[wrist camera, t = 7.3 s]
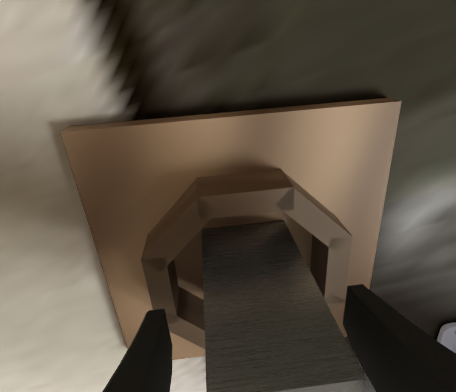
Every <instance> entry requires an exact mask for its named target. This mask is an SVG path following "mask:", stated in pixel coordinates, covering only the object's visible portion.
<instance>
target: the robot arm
mask: <svg viewBox="0 0 456 392" xmlns="http://www.w3.org/2000/svg"><path fill="white" fill-rule="evenodd" d="M343 326H344V328H345V331H346V333H347V336H348V338H349V341H350V343H351V345H352V348H353V350H354V352H355V354H356V356H357V357H358V359H359V361H360V363H361V365H362V367H363V369H364V370H365V372H366V374H367V376H368V378H369V379H370V381H371V383H372V385H373V387H374V389H375V390H376V392H456V322H454V323H448V324H445V325H443V326H442V327H441V329H440V332H439V335H438V338H437V341H436V340H435V339H434V338H432V337H431V336H429V335H428V334H426V333H425V332H424V331H422V330H421V329H419V328H418V327H417V326H415V325H414V324H413V323H411V322H410V321H409V320H407V319H406V318H405V317H403V316H402V315H401V314H399V313H398V312H397V311H396V310H394V309H393V308H392V307H391V306H389V305H388V304H387V303H385V302H384V301H383V300H382V299H380V298H379V297H378V296H377V295H376V294H374V293H373V292H372V291H371V290H369V289H368V288H367V287H365V286H364V285H363V284H359V285H351V286H347V293H346V301H345V308H344V316H343ZM172 346H173V345H172V341H171V336H170V331H169V327H168V322H167V318H166V313H165V309H157V310H149V311H148V312H147V313H146V314H145V317H144V319H143V321H142V323H141V325H140V327H139V329H138V331H137V333H136V335H135V337H134V339H133V341H132V343H131V345H130V347H129V348H128V350H127V352H126V354H125V356H124V357H123V359H122V361H121V363H120V364H119V366H118V368H117V369H116V371H115V373H114V374H113V376H112V377H111V379H110V381H109V382H108V384H107V385H106V387H105V389H104V390H103V392H170V384H171V376H172Z"/></svg>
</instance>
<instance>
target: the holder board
mask: <svg viewBox="0 0 456 392" xmlns="http://www.w3.org/2000/svg"><path fill="white" fill-rule="evenodd" d="M400 106H401V101H399V100H395V99H391V98H380V99H369V100H358V101H347V102H335V103H324V104H313V105H302V106H291V107H280V108H269V109H258V110H247V111H236V112H225V113H213V114H202V115H191V116H180V117H169V118H158V119H147V120H136V121H125V122H114V123H103V124H91V125H80V126H69V127H68V128H66V129H65V130H63V131H61V132H60V133H61V137H62V140H63V143H64V146H65V149H66V153H67V156H68V159H69V162H70V165H71V169H72V172H73V175H74V178H75V181H76V185H77V188H78V191H79V194H80V197H81V201H82V204H83V207H84V210H85V213H86V217H87V220H88V223H89V226H90V229H91V233H92V236H93V239H94V242H95V245H96V249H97V252H98V255H99V258H100V261H101V265H102V268H103V271H104V274H105V278H106V281H107V284H108V287H109V290H110V294H111V297H112V300H113V303H114V306H115V310H116V313H117V316H118V319H119V322H120V326H121V329H122V332H123V335H124V338H125V342H126V345H127V348H129V347H130V345H131V343H132V341H133V339H134V337H135V335H136V333H137V331H138V329H139V327H140V325H141V323H142V321H143V319H144V317H145V314H146V313H147V312H148V311H149V310H157V309H165V313H166V318H167V322H168V327H169V331H170V336H171V341H172V345H173V346H172V360H175V359H183V358H190V357H198V356H205V324H204V293H203V262H202V231H201V229H203V228H213V227H222V226H231V225H241V224H250V223H260V222H269V221H279V220H284V221H285V223H286V225H287V227H288V229H289V231H290V233H291V235H292V237H293V238H294V240H295V242H296V244H297V246H298V248H299V250H300V252H301V254H302V256H303V258H304V260H305V262H306V264H307V266H308V268H309V270H310V272H311V274H312V276H313V277H314V279H315V281H316V283H317V285H318V287H319V289H320V291H321V293H322V295H323V297H324V299H325V301H326V303H327V305H328V307H329V309H330V311H331V313H332V315H333V316H334V318H335V320H336V322H337V324H338V326H339V328H340V330H341V332H342V334H343V336H344V337H348V336H347V333H346V331H345V328H344V326H343V316H344V308H345V301H346V293H347V286H351V285H359V284H363V285H364V286H365V287H367V288H368V289H370V283H371V277H372V271H373V265H374V259H375V253H376V248H377V242H378V236H379V230H380V224H381V218H382V212H383V206H384V200H385V195H386V189H387V183H388V177H389V171H390V165H391V159H392V153H393V148H394V142H395V136H396V130H397V124H398V118H399V112H400Z"/></svg>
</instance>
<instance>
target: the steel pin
mask: <svg viewBox="0 0 456 392" xmlns="http://www.w3.org/2000/svg"><path fill="white" fill-rule="evenodd" d="M201 231H202V262H203V293H204V324H205V355H206V386H207V392H363V390H364V385H365V380H366V379H365V377H364V375H363V373H362V371H361V369H360V367H359V365H358V363H357V361H356V359H355V357H354V355H353V353H352V352H351V350H350V348H349V346H348V344H347V342H346V340H345V338H344V336H343V334H342V332H341V330H340V328H339V326H338V324H337V322H336V320H335V318H334V316H333V315H332V313H331V311H330V309H329V307H328V305H327V303H326V301H325V299H324V297H323V295H322V293H321V291H320V289H319V287H318V285H317V283H316V281H315V279H314V277H313V276H312V274H311V272H310V270H309V268H308V266H307V264H306V262H305V260H304V258H303V256H302V254H301V252H300V250H299V248H298V246H297V244H296V242H295V240H294V238H293V237H292V235H291V233H290V231H289V229H288V227H287V225H286V223H285V221H284V220H279V221H269V222H260V223H250V224H241V225H231V226H222V227H213V228H203V229H201Z"/></svg>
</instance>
